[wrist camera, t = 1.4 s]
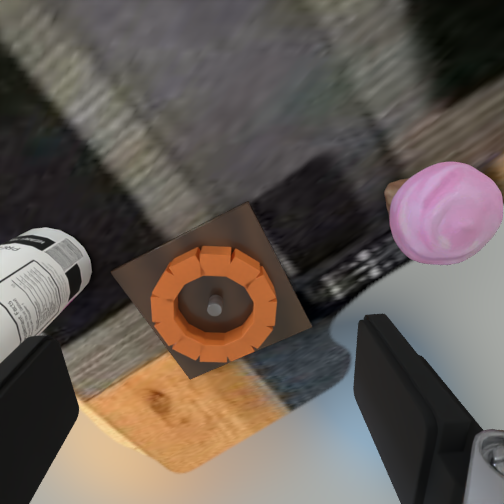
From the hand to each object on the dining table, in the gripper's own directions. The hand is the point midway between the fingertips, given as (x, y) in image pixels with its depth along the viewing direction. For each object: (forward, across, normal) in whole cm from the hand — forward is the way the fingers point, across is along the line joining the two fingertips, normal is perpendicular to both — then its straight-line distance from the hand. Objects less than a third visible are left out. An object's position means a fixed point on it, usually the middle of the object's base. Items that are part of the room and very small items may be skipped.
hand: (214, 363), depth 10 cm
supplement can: (+26, +20, +6) cm, 33 cm away
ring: (+23, +3, +11) cm, 26 cm away
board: (+25, +3, +11) cm, 28 cm away
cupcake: (+25, -18, +1) cm, 31 cm away
